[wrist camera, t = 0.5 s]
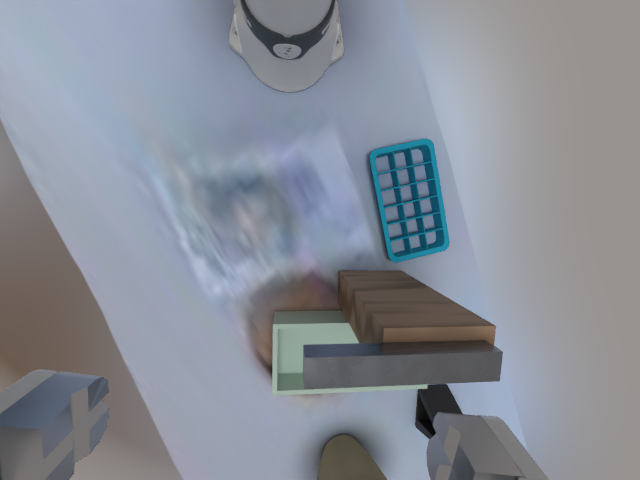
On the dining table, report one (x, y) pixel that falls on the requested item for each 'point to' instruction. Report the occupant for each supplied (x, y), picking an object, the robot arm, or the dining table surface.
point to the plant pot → (347, 461)
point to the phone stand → (433, 407)
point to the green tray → (309, 330)
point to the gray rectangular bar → (399, 363)
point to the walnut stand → (404, 310)
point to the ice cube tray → (435, 198)
